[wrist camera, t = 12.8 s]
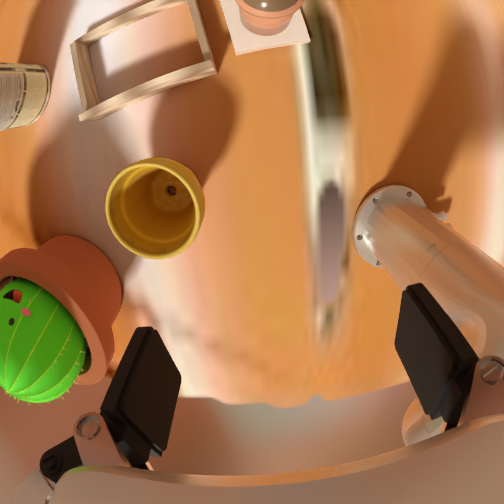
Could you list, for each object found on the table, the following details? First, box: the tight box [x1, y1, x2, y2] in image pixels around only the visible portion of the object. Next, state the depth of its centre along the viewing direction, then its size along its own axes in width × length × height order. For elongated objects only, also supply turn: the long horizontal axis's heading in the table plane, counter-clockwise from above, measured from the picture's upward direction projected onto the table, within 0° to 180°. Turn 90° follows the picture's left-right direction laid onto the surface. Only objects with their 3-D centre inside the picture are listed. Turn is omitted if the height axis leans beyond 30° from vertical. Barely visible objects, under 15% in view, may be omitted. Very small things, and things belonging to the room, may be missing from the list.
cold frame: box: [70, 0, 218, 121], centre depth 24 cm, size 17×13×5 cm
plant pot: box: [105, 157, 205, 259], centre depth 30 cm, size 10×10×10 cm
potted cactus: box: [0, 235, 122, 403], centre depth 30 cm, size 22×22×25 cm
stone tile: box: [220, 0, 310, 55], centre depth 24 cm, size 9×9×1 cm
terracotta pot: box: [235, 0, 304, 36], centre depth 20 cm, size 7×7×8 cm
